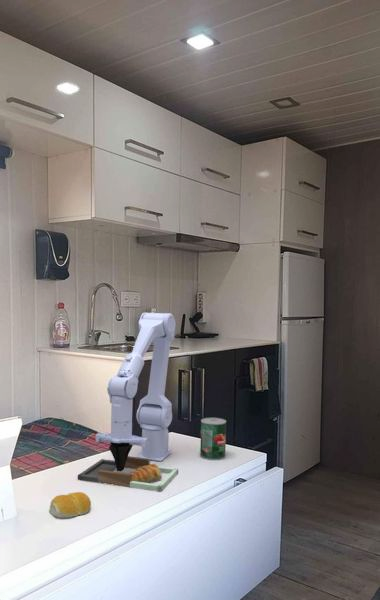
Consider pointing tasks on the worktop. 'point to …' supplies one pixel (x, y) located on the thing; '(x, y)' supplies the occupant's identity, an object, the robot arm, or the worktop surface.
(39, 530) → the worktop surface
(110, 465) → the tray
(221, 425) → the canned tomato
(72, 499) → the bread roll
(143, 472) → the pastry
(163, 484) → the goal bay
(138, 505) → the worktop surface
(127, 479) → the corridor
